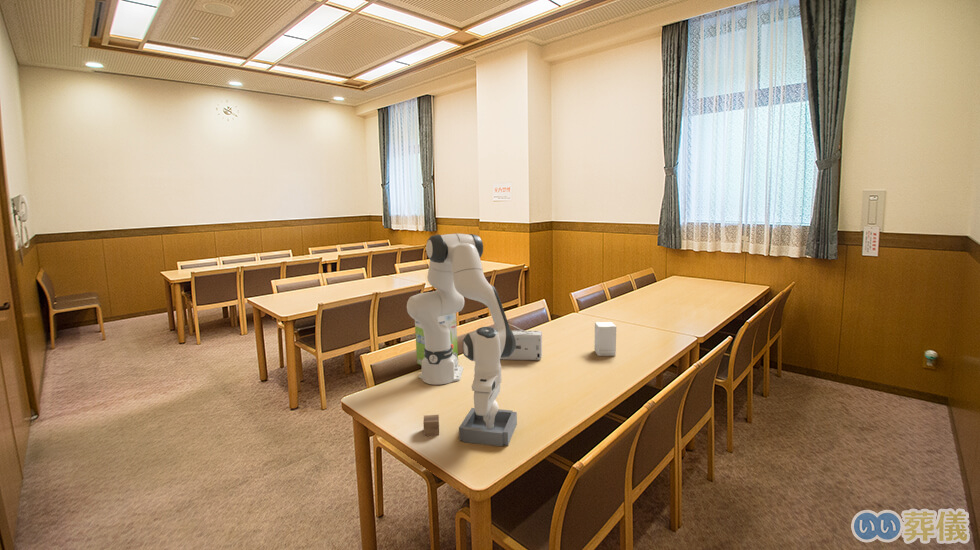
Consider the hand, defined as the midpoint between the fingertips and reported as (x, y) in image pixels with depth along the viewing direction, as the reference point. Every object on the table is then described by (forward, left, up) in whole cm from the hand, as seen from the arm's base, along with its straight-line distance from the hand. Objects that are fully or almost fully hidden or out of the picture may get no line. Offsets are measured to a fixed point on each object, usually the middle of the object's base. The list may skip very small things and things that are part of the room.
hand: (488, 416), depth 156 cm
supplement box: (-89, +37, -6) cm, 97 cm away
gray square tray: (0, 0, -6) cm, 6 cm away
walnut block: (+4, -19, -6) cm, 20 cm away
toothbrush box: (-60, -41, -6) cm, 73 cm away
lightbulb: (-1, 0, -5) cm, 5 cm away
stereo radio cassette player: (-74, -3, -6) cm, 74 cm away
